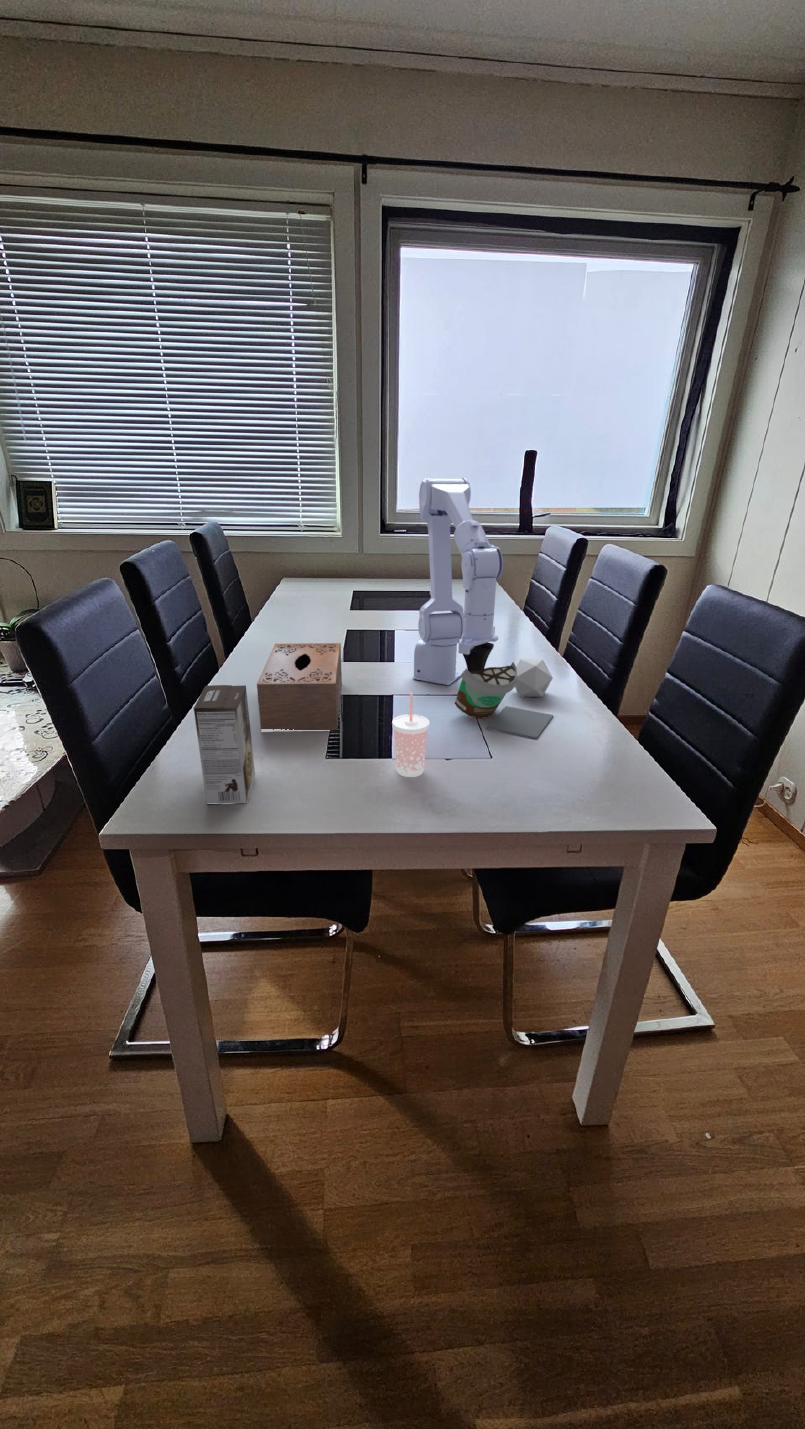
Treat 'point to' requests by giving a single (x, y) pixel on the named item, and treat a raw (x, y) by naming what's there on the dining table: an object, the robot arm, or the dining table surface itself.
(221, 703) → the coffee box
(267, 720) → the tissue box cover
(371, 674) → the dining table surface
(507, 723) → the mat
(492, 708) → the food container
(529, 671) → the die
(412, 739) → the beverage cup
